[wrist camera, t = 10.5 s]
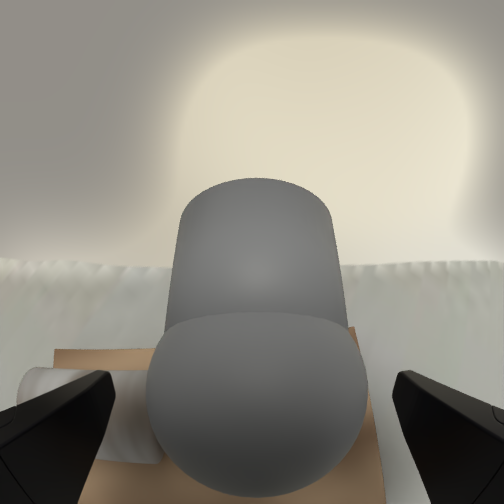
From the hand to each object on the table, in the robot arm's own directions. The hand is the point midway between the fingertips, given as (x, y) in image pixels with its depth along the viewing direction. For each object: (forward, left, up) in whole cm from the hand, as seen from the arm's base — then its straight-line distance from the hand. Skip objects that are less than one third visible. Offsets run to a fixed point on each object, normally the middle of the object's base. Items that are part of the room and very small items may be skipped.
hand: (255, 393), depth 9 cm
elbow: (0, 0, -9) cm, 9 cm away
